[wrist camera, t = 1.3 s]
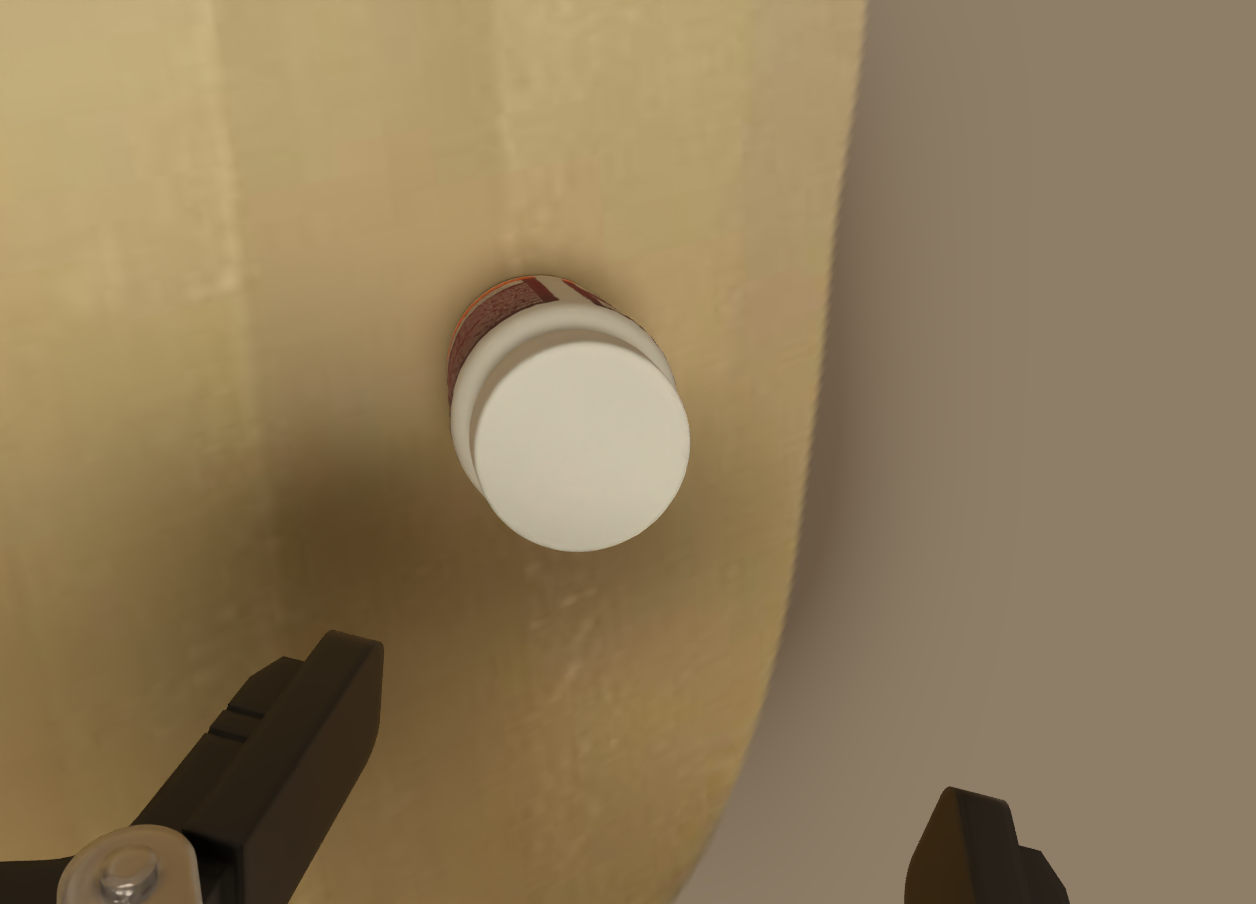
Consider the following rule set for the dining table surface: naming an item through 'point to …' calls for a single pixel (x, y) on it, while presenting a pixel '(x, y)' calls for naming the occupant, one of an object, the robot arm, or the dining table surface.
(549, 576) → the dining table surface
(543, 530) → the pill bottle
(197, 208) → the dining table surface
